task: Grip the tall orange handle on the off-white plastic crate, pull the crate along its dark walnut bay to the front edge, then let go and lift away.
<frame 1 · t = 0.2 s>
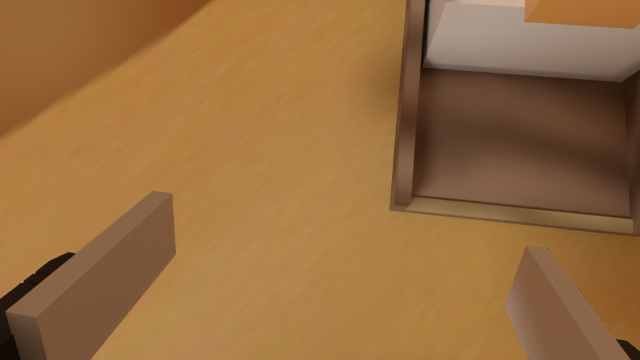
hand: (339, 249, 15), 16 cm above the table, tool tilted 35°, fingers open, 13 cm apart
bay: (512, 77, 32), on the table
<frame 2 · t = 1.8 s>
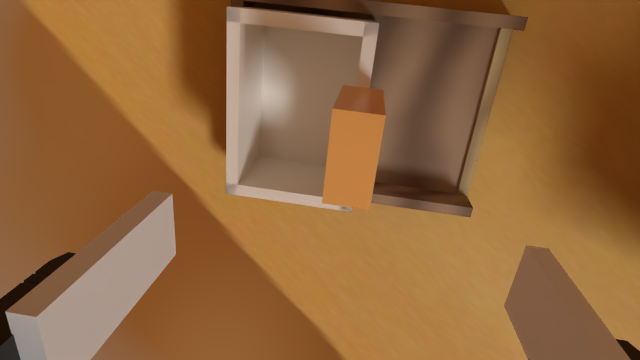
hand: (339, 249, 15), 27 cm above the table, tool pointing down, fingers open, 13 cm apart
crate: (300, 118, 31), point 9 cm above the table, slide at 0.0 cm
bay: (361, 101, 39), on the table
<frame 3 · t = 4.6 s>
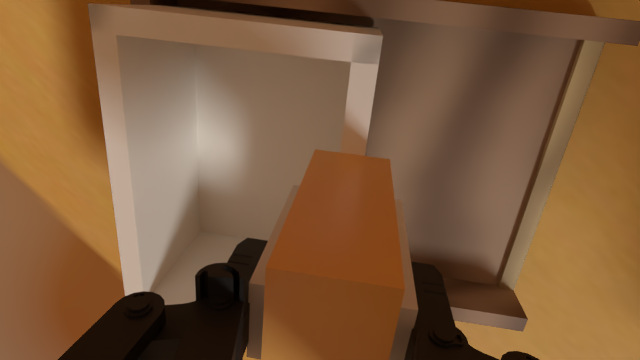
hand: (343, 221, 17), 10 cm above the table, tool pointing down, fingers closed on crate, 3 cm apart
crate: (241, 204, 17), point 9 cm above the table, slide at 0.0 cm, touching gripper
bay: (353, 149, 25), on the table
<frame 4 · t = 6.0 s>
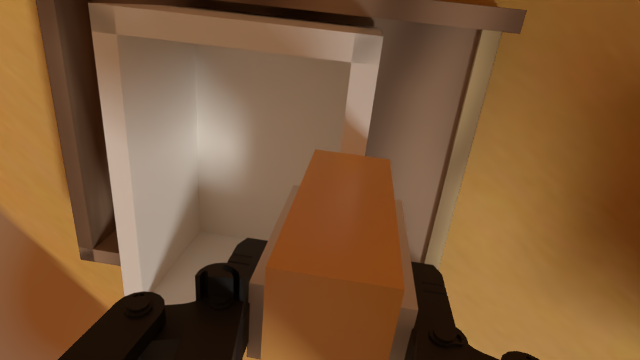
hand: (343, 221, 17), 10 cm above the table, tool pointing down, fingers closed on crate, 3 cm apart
crate: (241, 204, 17), point 9 cm above the table, slide at 5.2 cm, touching gripper
bay: (274, 139, 26), on the table
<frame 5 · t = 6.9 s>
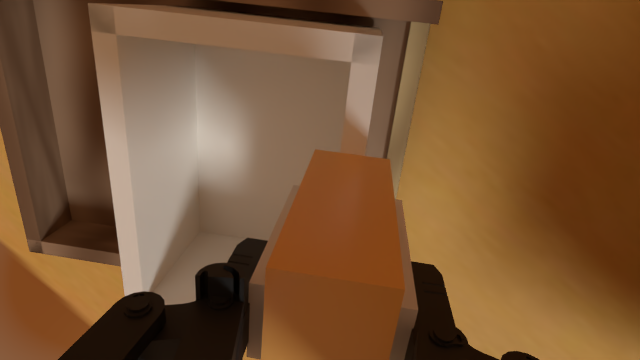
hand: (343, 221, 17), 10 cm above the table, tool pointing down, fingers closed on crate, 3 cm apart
crate: (241, 204, 17), point 9 cm above the table, slide at 8.9 cm, touching gripper
bay: (219, 131, 26), on the table
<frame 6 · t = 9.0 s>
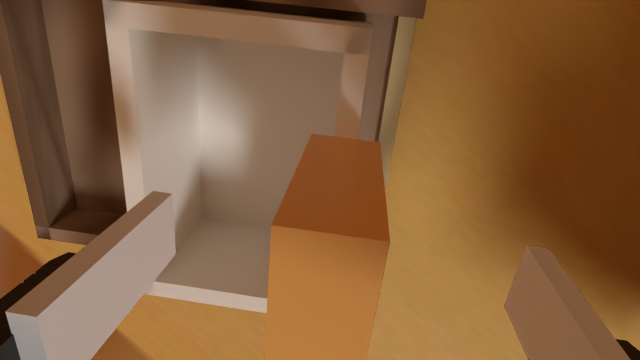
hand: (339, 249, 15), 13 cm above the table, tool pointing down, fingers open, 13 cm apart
crate: (243, 186, 19), point 9 cm above the table, slide at 9.0 cm
bay: (219, 122, 28), on the table
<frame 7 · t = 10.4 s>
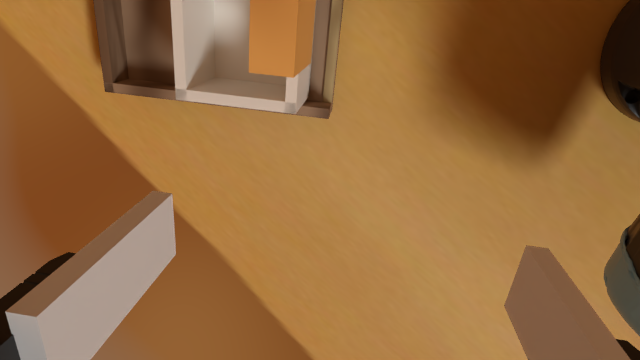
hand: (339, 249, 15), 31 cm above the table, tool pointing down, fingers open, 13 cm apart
crate: (241, 17, 32), point 9 cm above the table, slide at 9.0 cm
bay: (226, 11, 41), on the table
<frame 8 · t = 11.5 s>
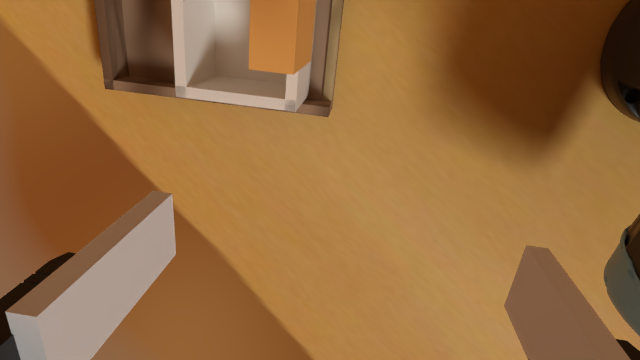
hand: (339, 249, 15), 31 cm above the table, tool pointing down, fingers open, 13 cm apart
crate: (241, 14, 32), point 9 cm above the table, slide at 9.0 cm
bay: (227, 9, 41), on the table
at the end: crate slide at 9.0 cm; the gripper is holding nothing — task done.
